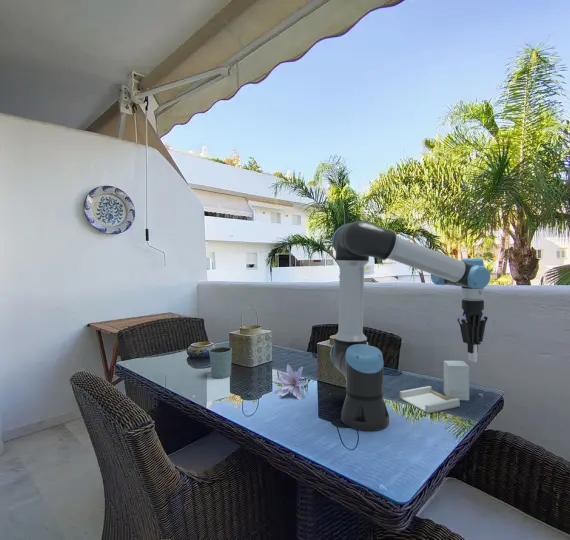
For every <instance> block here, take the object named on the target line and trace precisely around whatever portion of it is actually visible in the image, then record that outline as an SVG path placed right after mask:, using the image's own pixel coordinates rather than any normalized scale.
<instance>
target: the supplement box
mask: <svg viewBox="0 0 570 540" xmlns="http://www.w3.org/2000/svg"><path fill="white" fill-rule="evenodd" d="M443 393H444V394H443V395H444V396H447V397H449V398H451V399H455V398H458V399H460V401H470V365H468V364H467V363H466V362H465V360H443Z"/></svg>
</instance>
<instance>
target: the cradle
mask: <svg viewBox="0 0 570 540" xmlns="http://www.w3.org/2000/svg"><path fill="white" fill-rule="evenodd" d="M430 390H433V388H432V386H430V385H426V386H422V387H417V388H411V389H405V390H400V391H399V399H401V400H402V401H405V402H406V403H408V404H410V405H412V406H414V407H415V408H417V409H419V410H421V411H422V412H423V413H424V412H425V413H426V414H431V413H437V412H442V411H444V410H445V411H446V410H451V409H454V408H458V407H460V406H461V405H460V404H461V403H460V402H461V400H460V399H458V398H455V399H451V400H445V399H443V398H440V397H438V396H436V395H434V394H432V393H430Z"/></svg>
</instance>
